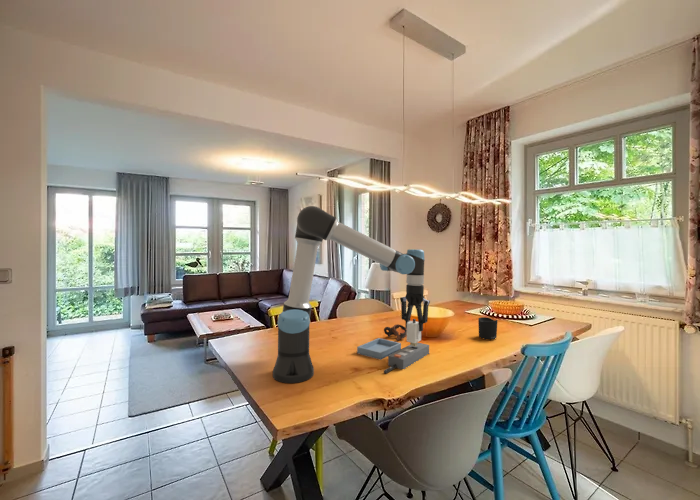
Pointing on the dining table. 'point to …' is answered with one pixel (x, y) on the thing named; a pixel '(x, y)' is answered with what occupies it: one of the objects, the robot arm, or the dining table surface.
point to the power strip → (406, 356)
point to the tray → (378, 348)
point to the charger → (412, 333)
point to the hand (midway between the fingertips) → (413, 337)
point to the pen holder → (487, 328)
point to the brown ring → (393, 331)
